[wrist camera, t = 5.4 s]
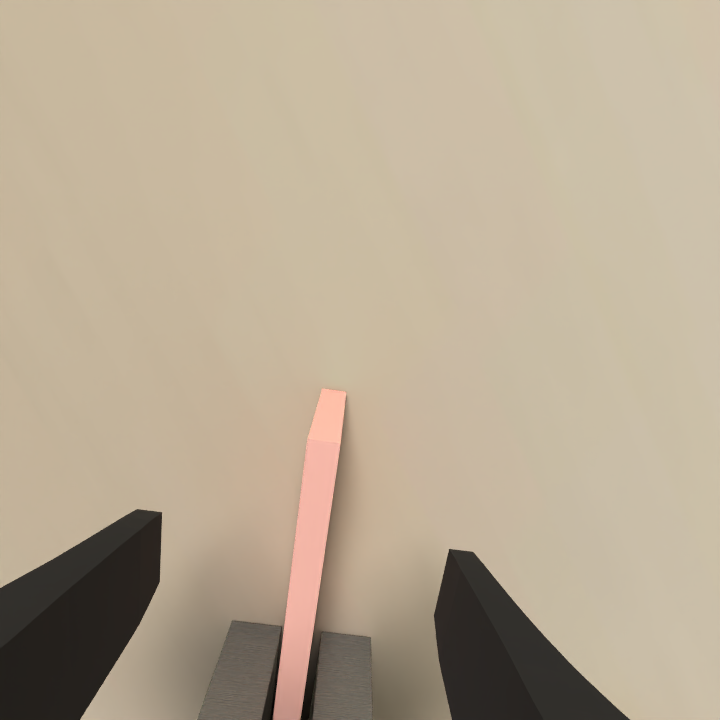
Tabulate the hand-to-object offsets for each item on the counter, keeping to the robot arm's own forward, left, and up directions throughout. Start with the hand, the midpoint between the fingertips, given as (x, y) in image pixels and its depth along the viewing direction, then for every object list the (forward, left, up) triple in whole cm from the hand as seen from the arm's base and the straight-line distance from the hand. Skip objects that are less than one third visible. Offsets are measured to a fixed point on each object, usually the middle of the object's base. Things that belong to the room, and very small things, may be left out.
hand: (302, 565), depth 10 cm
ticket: (0, -4, -8) cm, 9 cm away
